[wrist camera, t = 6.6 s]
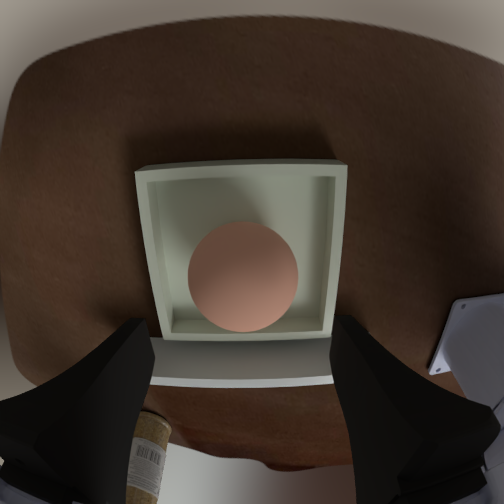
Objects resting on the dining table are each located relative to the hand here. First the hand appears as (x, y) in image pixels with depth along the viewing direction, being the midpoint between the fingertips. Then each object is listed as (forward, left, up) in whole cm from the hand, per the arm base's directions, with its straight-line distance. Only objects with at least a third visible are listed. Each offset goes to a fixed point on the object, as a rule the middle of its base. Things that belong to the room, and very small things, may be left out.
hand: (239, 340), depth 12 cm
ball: (0, 0, -5) cm, 5 cm away
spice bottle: (+10, +18, -8) cm, 23 cm away
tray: (0, 0, -8) cm, 8 cm away
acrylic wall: (0, +7, -8) cm, 11 cm away
